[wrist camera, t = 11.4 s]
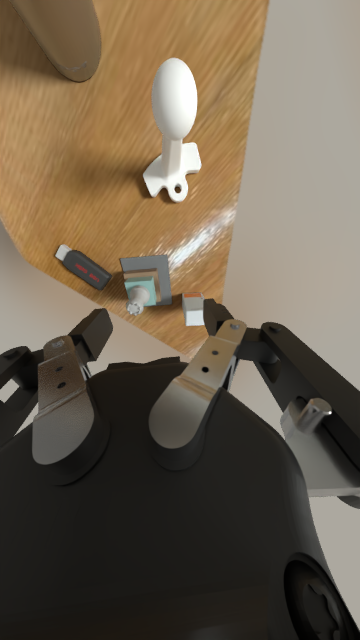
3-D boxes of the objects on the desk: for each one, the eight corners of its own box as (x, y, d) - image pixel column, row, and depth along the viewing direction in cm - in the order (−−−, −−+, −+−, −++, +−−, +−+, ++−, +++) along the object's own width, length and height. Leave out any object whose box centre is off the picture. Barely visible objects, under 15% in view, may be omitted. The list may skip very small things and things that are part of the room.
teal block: (128, 278, 35) (124, 282, 32) (152, 275, 35) (151, 280, 32) (134, 300, 38) (130, 307, 35) (156, 298, 39) (155, 304, 35)
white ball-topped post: (191, 140, 27) (232, -13, 10) (204, 189, 31) (249, 135, 14) (141, 172, 29) (104, 84, 12) (159, 214, 33) (150, 193, 16)
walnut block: (127, 270, 38) (123, 274, 35) (157, 268, 38) (156, 271, 35) (134, 298, 42) (131, 304, 39) (161, 296, 43) (160, 301, 39)
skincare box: (201, 291, 43) (212, 309, 33) (200, 304, 46) (210, 325, 35) (181, 292, 43) (185, 311, 33) (181, 305, 45) (185, 326, 35)
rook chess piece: (140, 306, 35) (133, 323, 28) (126, 292, 33) (115, 307, 26) (154, 295, 34) (151, 311, 27) (140, 280, 32) (133, 293, 25)
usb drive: (103, 288, 41) (99, 292, 39) (58, 258, 36) (51, 259, 34) (113, 275, 39) (109, 278, 37) (67, 241, 35) (60, 241, 32)
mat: (120, 258, 37) (120, 258, 37) (167, 254, 37) (167, 254, 37) (133, 307, 44) (133, 307, 44) (172, 303, 45) (172, 304, 44)
